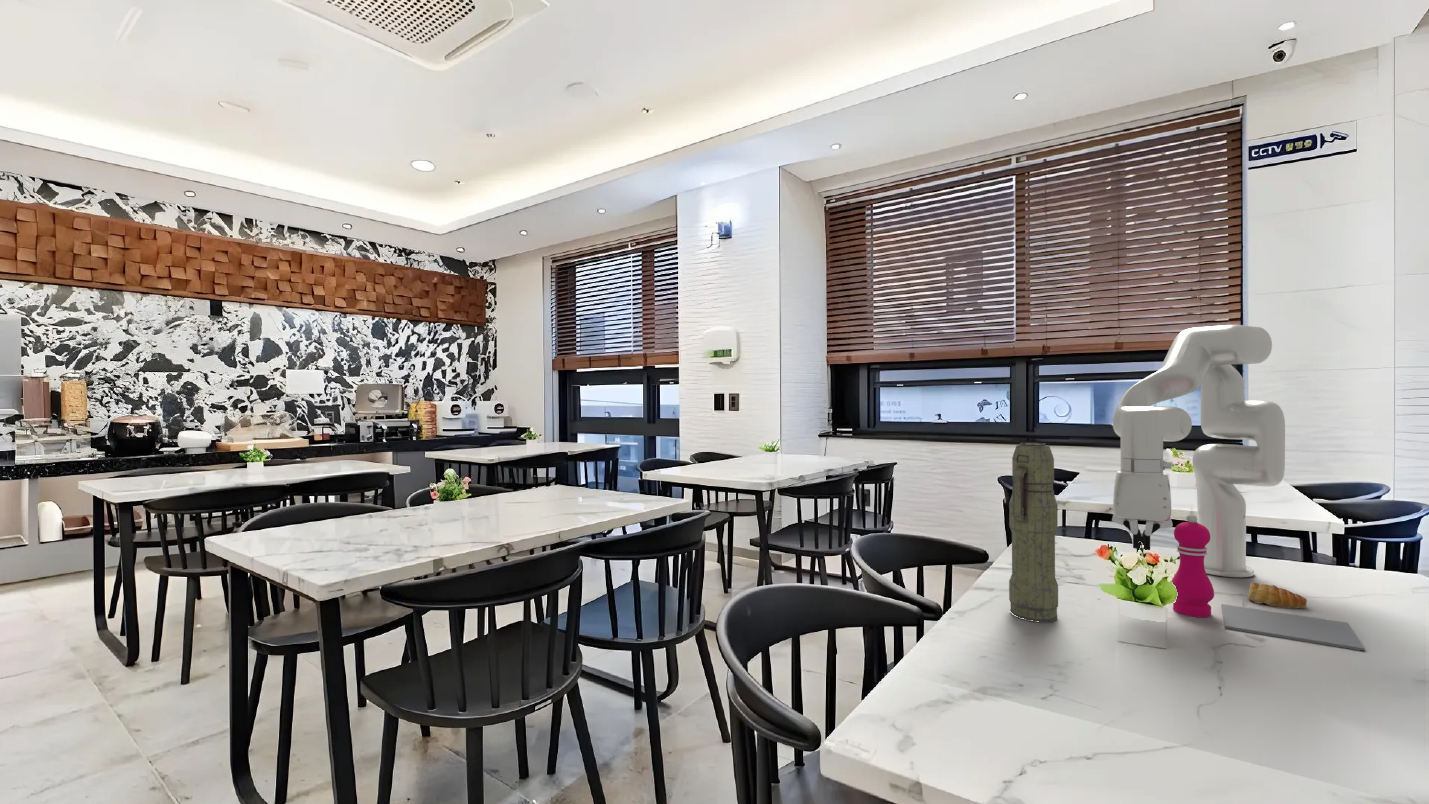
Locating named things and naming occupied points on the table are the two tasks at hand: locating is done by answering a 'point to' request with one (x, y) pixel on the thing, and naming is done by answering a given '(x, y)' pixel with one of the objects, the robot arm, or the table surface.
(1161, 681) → the table surface
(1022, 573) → the thermos
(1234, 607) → the mat
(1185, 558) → the pepper mill
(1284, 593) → the pastry
